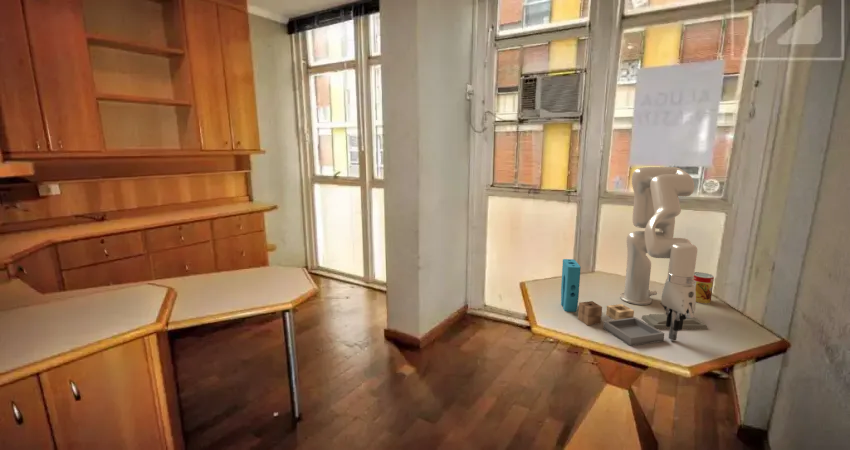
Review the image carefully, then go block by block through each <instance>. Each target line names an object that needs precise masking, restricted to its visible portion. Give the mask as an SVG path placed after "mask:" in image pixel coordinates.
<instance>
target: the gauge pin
mask: <svg viewBox="0 0 850 450" xmlns="http://www.w3.org/2000/svg"><path fill="white" fill-rule="evenodd" d="M676 314H677V312H676V311H674V310H672V315H671V323H670V329H668V330H669V332H668V339H669V340H670V341H677V338H678V331H674V330H673V327H674V320H676Z"/></svg>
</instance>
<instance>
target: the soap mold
mask: <svg viewBox="0 0 850 450" xmlns="http://www.w3.org/2000/svg"><path fill="white" fill-rule="evenodd" d="M681 316H682V314H681ZM641 319H642V320H643V322H645V323H647V324H648V325H650V326H652V327H654V328H656V329H658V330H670V327H667V326H666V321H667V315H666V313H650V314H648V315H647V314H645V315H644V314H642V316H641ZM641 319H640V320H641ZM642 320H641V321H642ZM682 330H708V325H707V324H706V323H704V322H702V321H701V320H700V319H698V318H696V317H695V316H694V315H693V318H690V319H685V320H683V326H682Z"/></svg>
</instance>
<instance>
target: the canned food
mask: <svg viewBox="0 0 850 450" xmlns="http://www.w3.org/2000/svg"><path fill="white" fill-rule="evenodd" d="M693 280H694V281H695V284H693V285H694V286H695V291H696V303H698V304H703V305H706V304H707V305H708V304H710V303H712V294H713V287H714V286H713V285H714V280H715V275H713V274H712V273H708V272H704V271H703V272H702V271H695V272H694V279H693Z"/></svg>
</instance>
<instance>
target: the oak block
mask: <svg viewBox="0 0 850 450" xmlns="http://www.w3.org/2000/svg"><path fill="white" fill-rule="evenodd" d="M634 314H635V310H634V309H632V308H630V307H628V306H626V305H625V304H622V303H619V304H611V305H610V304H609V305H606V311H605V315H606V316H607V317H608V318H611V319H612V320H618V319H625V318H633V317H635V315H634Z"/></svg>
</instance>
